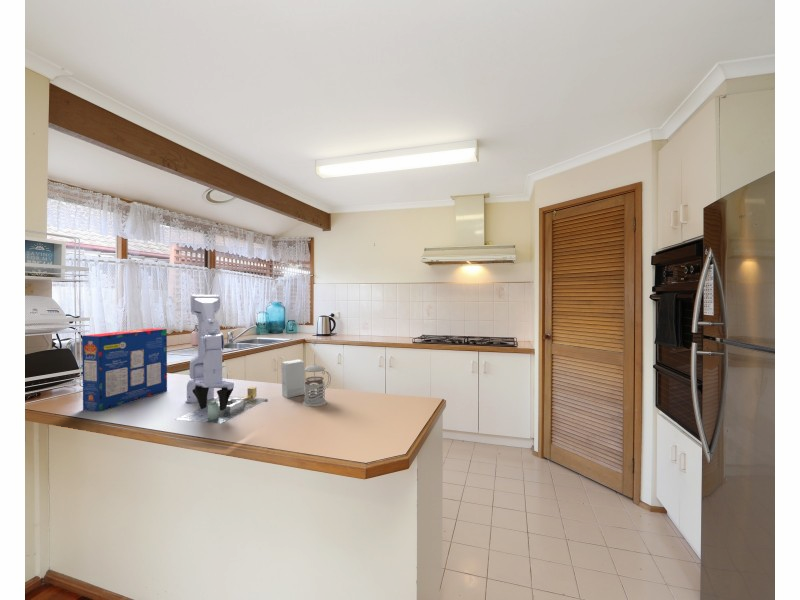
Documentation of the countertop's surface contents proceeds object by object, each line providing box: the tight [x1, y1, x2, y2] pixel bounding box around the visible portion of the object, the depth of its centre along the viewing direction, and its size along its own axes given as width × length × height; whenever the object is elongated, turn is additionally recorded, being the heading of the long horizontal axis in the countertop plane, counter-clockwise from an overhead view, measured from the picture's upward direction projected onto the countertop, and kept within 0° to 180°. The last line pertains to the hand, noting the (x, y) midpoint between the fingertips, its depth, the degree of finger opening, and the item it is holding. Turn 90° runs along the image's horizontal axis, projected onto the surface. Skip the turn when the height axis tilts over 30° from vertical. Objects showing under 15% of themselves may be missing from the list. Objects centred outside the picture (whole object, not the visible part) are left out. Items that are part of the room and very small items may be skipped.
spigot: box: [207, 400, 218, 420], centre depth 118 cm, size 3×3×6 cm
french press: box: [301, 340, 332, 407], centre depth 139 cm, size 10×12×25 cm
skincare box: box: [281, 358, 305, 399], centre depth 148 cm, size 8×6×15 cm
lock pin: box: [243, 386, 257, 402], centre depth 135 cm, size 2×10×4 cm, turn 170°
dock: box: [174, 395, 268, 424], centre depth 128 cm, size 18×27×4 cm, turn 170°
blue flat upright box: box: [81, 327, 168, 413], centre depth 141 cm, size 28×8×28 cm, turn 167°
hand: (213, 408), depth 117 cm, fingers open, 7 cm apart
